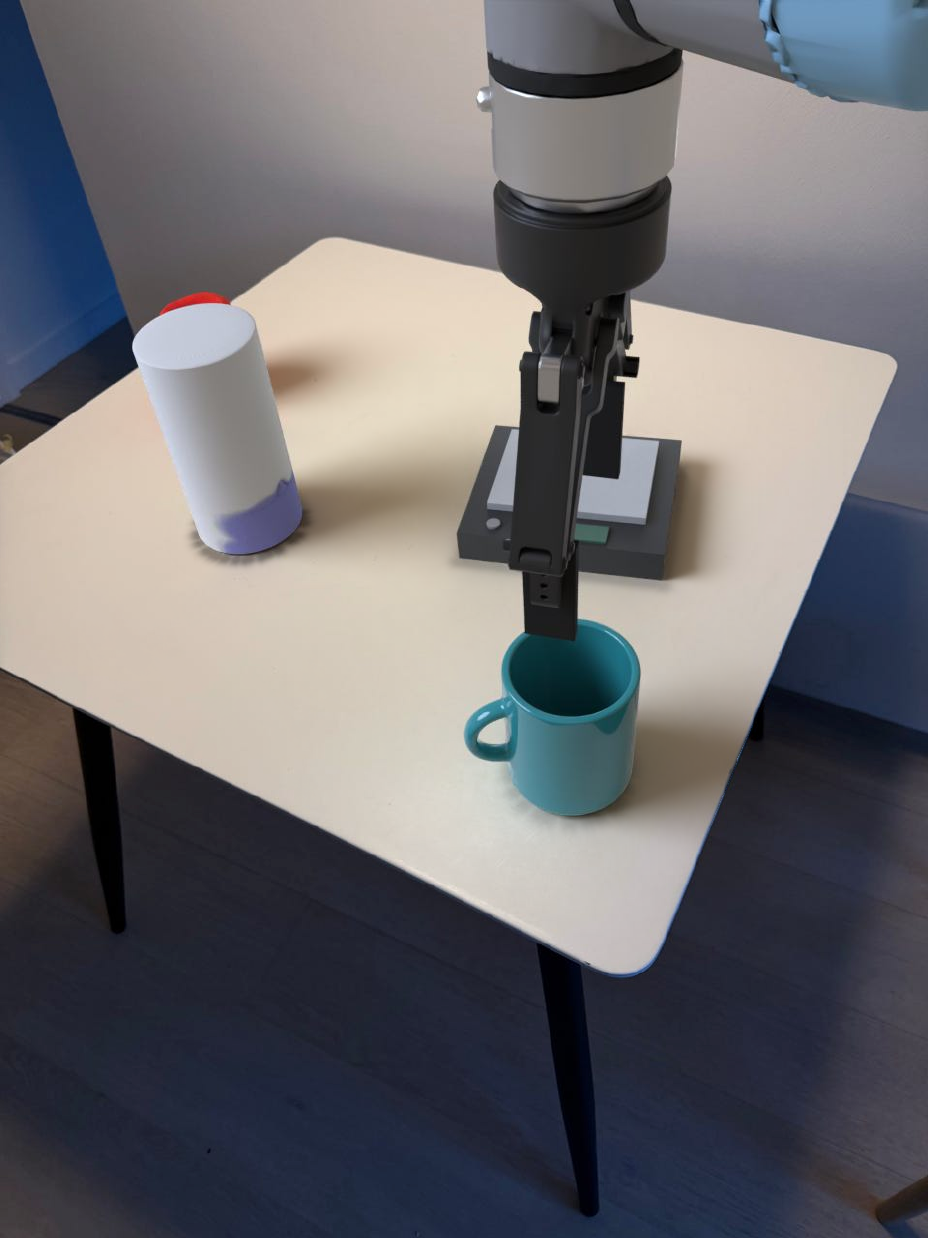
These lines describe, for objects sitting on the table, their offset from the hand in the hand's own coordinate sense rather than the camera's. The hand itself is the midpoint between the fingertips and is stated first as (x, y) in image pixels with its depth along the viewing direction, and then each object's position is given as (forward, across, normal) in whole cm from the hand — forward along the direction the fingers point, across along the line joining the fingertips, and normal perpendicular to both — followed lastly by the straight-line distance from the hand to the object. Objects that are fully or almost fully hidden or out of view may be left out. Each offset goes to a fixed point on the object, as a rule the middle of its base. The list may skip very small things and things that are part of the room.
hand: (576, 547), depth 57 cm
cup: (+22, +1, -1) cm, 22 cm away
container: (+22, -21, -35) cm, 46 cm away
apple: (+22, -40, -48) cm, 66 cm away
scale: (+22, -28, -6) cm, 36 cm away
